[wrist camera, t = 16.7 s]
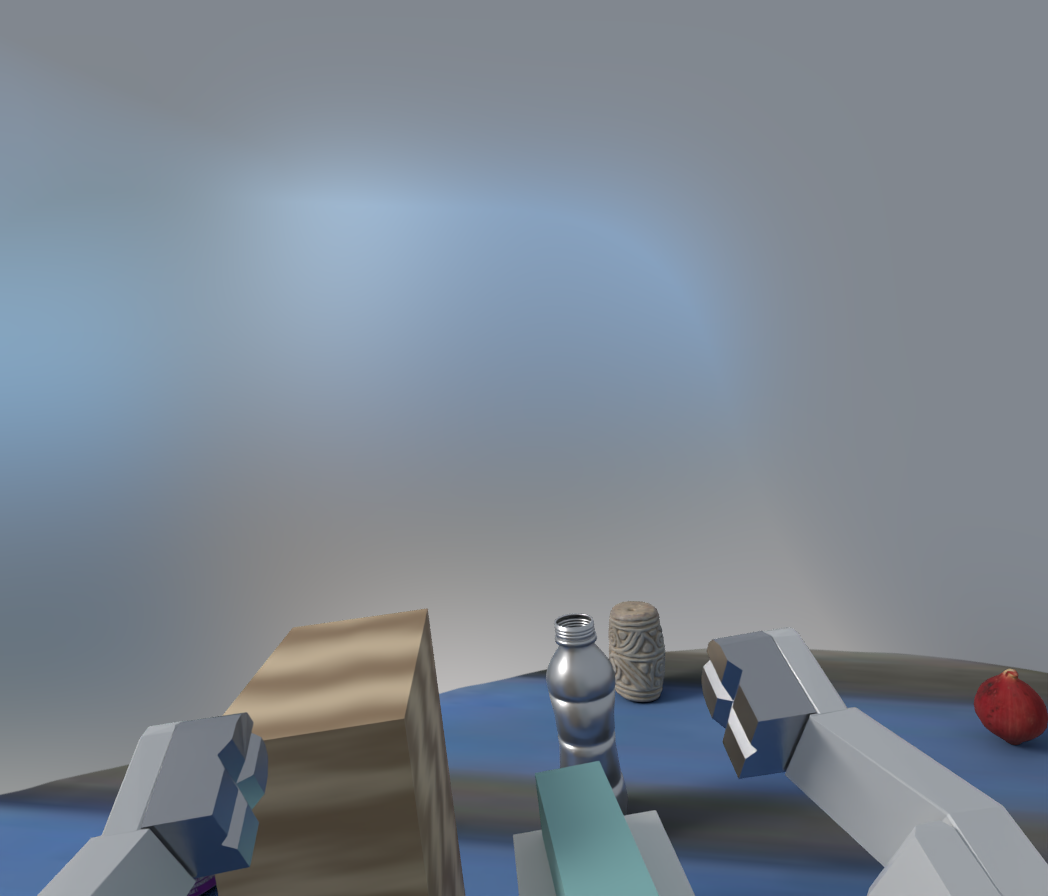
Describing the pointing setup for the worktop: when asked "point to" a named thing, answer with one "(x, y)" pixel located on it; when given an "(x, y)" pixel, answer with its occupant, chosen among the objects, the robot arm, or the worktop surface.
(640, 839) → the white box
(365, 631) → the oak stand
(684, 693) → the worktop surface
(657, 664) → the carving
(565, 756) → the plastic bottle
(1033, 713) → the red pomegranate
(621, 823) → the teal block
